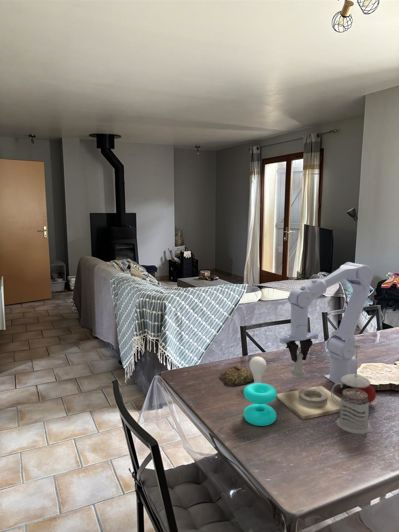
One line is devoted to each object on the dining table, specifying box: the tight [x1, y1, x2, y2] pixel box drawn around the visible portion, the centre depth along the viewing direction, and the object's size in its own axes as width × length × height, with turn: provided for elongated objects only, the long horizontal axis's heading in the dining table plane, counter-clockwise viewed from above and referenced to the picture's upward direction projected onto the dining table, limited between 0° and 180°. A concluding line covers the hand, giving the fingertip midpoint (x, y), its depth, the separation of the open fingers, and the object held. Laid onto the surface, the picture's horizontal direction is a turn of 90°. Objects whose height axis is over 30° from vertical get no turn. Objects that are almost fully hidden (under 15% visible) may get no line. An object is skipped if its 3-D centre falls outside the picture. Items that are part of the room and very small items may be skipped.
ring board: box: [276, 385, 352, 420], centre depth 133 cm, size 18×16×3 cm
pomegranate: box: [356, 384, 377, 404], centre depth 132 cm, size 6×6×8 cm
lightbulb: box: [248, 356, 267, 383], centre depth 146 cm, size 6×6×11 cm
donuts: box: [243, 382, 278, 427], centre depth 123 cm, size 10×10×10 cm
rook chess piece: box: [291, 351, 305, 378], centre depth 144 cm, size 4×4×8 cm
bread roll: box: [219, 365, 254, 387], centre depth 154 cm, size 13×12×5 cm
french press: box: [330, 343, 372, 435], centre depth 119 cm, size 10×12×25 cm
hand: (298, 360), depth 144 cm, fingers closed on rook chess piece, 3 cm apart
